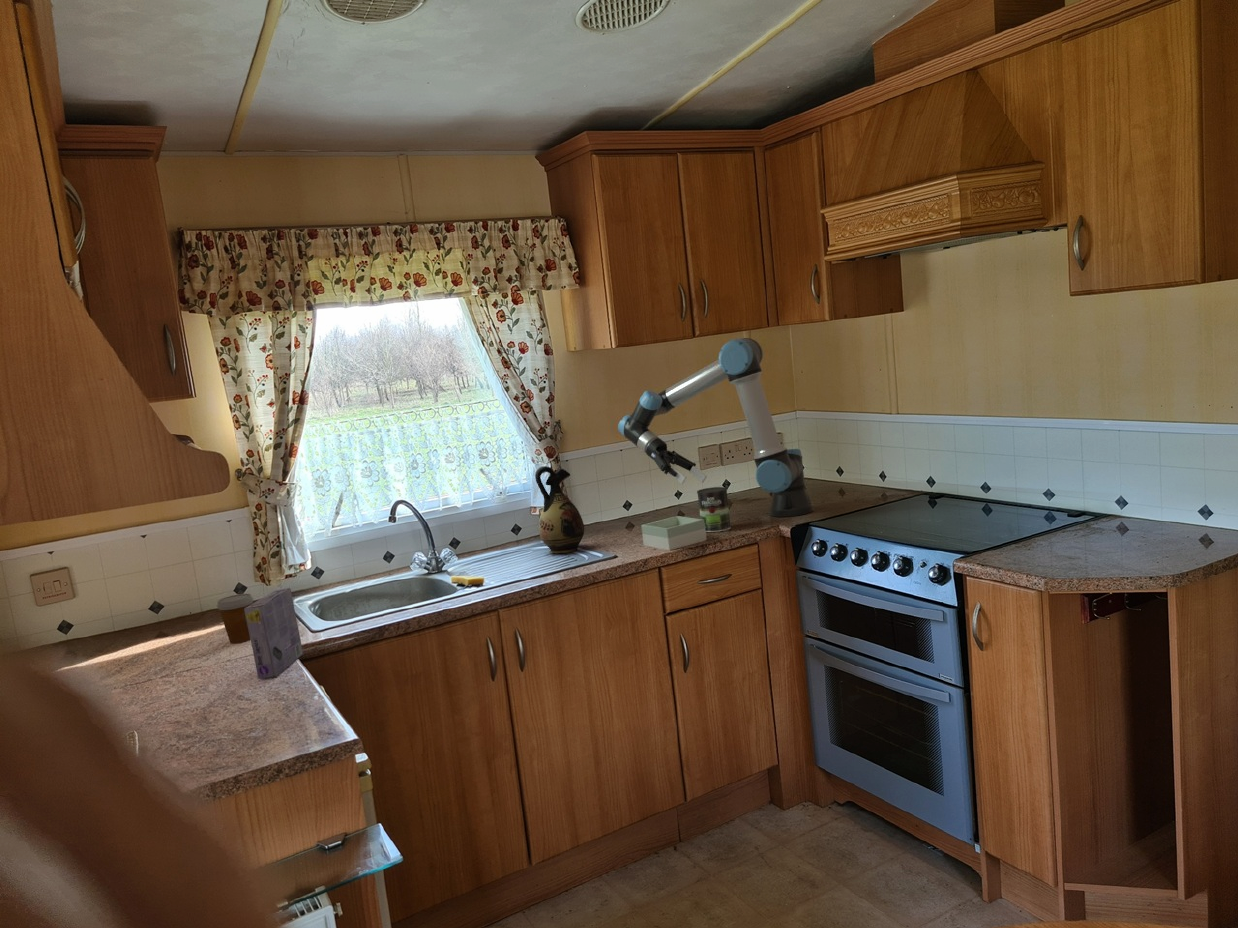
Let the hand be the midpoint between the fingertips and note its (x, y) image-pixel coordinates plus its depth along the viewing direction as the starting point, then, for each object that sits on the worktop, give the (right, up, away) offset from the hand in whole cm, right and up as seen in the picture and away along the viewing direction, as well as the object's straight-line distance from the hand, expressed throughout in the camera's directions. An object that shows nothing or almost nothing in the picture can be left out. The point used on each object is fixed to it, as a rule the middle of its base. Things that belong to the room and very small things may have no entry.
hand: (694, 480), depth 331 cm
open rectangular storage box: (-8, -21, -16) cm, 27 cm away
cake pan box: (-109, -44, -99) cm, 153 cm away
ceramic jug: (-46, -25, -5) cm, 52 cm away
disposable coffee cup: (-131, -43, -68) cm, 154 cm away
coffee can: (+7, -17, -3) cm, 19 cm away
